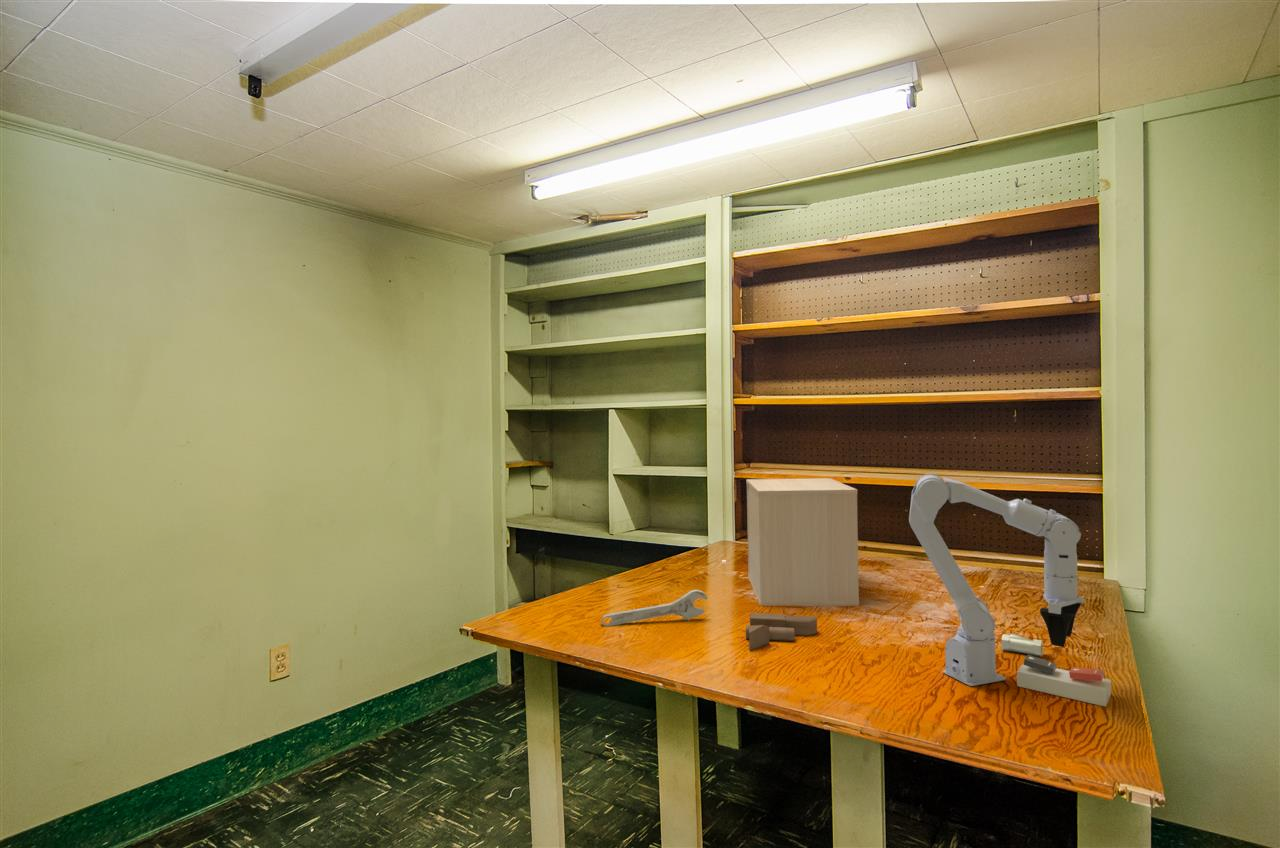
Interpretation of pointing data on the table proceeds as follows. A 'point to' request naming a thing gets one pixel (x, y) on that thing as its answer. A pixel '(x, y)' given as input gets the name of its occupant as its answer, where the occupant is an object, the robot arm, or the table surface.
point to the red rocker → (1086, 674)
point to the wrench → (661, 610)
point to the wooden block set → (778, 628)
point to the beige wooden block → (802, 542)
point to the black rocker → (1040, 664)
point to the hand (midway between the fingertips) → (1061, 640)
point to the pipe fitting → (1022, 645)
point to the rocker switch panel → (1065, 685)
